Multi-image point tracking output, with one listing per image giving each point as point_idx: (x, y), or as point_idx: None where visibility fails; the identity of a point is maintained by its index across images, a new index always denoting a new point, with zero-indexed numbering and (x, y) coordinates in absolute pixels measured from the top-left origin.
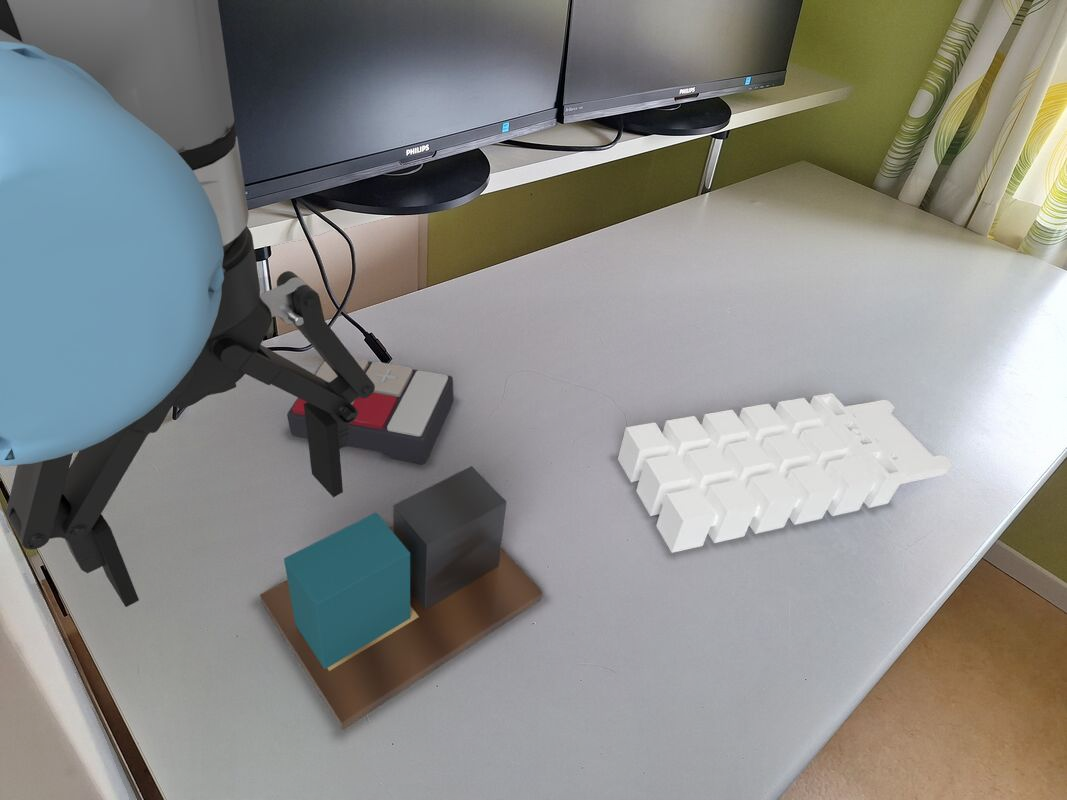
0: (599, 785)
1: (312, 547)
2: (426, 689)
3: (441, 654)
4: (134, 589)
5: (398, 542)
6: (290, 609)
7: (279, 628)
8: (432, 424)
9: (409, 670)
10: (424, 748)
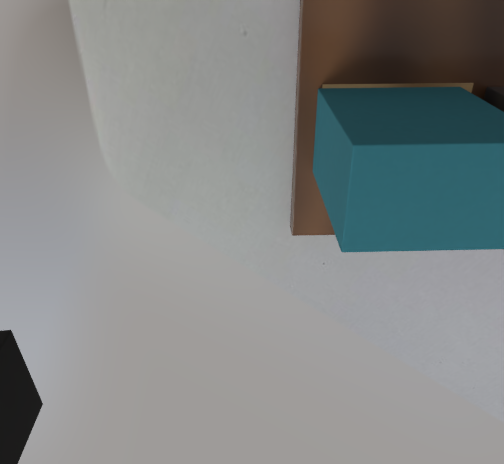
0: (438, 377)
1: (408, 152)
2: None
3: None
4: (27, 438)
5: None
6: (326, 56)
7: (298, 68)
8: None
9: None
10: (345, 282)
